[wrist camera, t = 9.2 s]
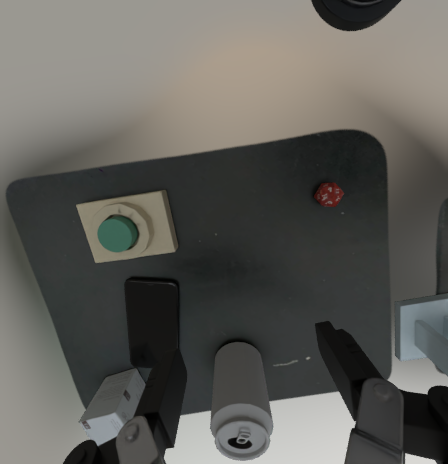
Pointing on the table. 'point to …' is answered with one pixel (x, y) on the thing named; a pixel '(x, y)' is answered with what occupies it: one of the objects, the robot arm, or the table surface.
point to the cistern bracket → (423, 330)
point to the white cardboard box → (113, 405)
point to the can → (240, 403)
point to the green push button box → (142, 215)
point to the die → (328, 194)
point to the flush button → (117, 234)
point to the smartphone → (151, 319)
